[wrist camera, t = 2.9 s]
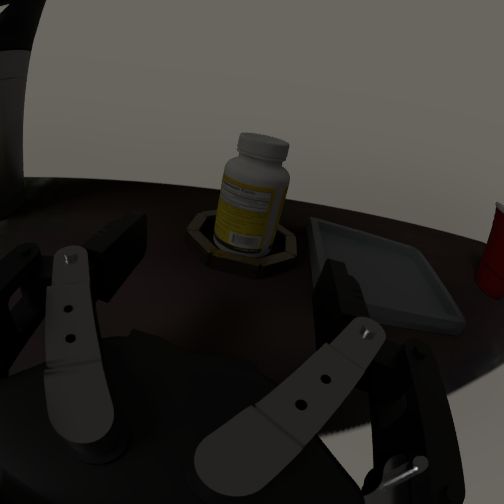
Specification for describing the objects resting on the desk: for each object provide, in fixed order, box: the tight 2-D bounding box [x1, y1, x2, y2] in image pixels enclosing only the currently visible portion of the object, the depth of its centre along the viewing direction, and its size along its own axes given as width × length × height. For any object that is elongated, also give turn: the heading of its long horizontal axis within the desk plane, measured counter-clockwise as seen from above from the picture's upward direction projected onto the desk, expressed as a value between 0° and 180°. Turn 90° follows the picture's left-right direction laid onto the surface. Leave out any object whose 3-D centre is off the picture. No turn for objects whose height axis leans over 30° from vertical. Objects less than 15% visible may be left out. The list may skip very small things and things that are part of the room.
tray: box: [306, 217, 467, 336], centre depth 25 cm, size 15×14×2 cm
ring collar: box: [185, 210, 297, 279], centre depth 25 cm, size 10×10×1 cm
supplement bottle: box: [214, 133, 290, 259], centre depth 23 cm, size 5×5×10 cm
